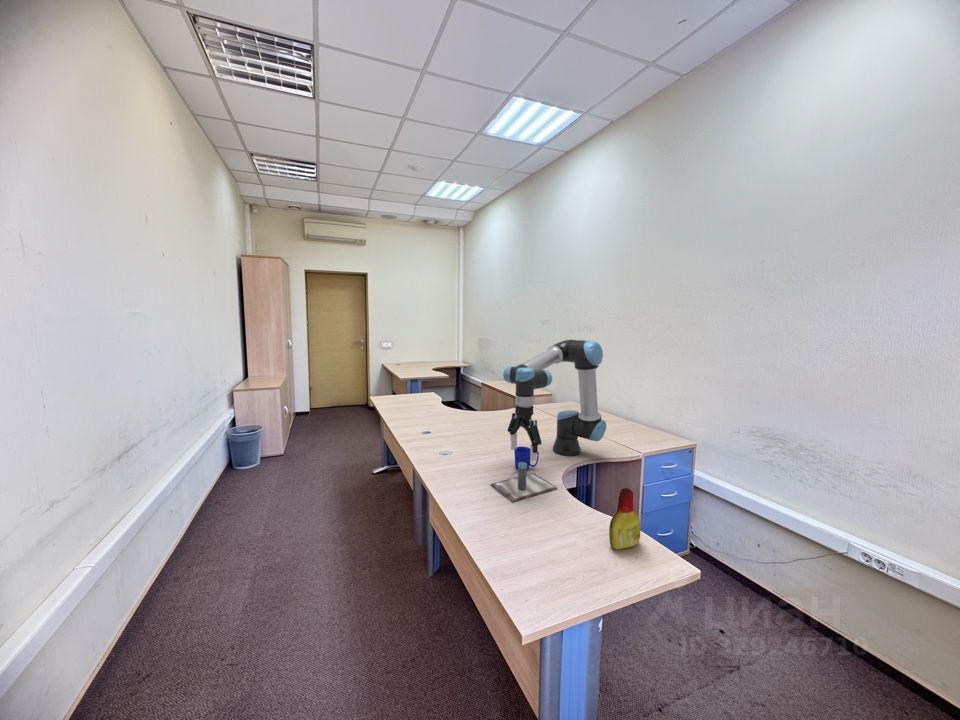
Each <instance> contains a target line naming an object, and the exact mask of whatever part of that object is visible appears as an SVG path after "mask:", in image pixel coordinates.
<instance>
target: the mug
mask: <svg viewBox="0 0 960 720" xmlns="http://www.w3.org/2000/svg"><path fill="white" fill-rule="evenodd" d="M513 451H514V467H515V469H516V470H518V463H519V462H525V463H527V470H529V469H530V467H531V468H534V467H536V466H537V465H538V462H539V457H540V456H539V455H540V453H539V451H538V452H537V459H536V461H535V464H531V460H530V451H531V447H527V446H517V449H513Z"/></svg>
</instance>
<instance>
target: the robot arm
mask: <svg viewBox="0 0 960 720" xmlns="http://www.w3.org/2000/svg"><path fill="white" fill-rule="evenodd" d="M603 356H604V354H603V347H602V346H601V345H600V343H599V342H597V341H593V340H581V339H566V340H562V341H560V342H559V341H558V342H557V343H554V344H552V345H550V346H549V347H548V348H547V350H545V351H543V352H542V353H540V354H538V355H536V356H533V357H532V358H531V359H528V360H526V361H524V362H522V363H520V364H518V365H516V366H511V365H510V366H507V367H505V369H504V370H503V374H502V375H503V380H504V381H505V382H507V383H510V384H512V385H513V384H514V385H515V402H514V403H515V407H514V408H515V409H514V412H513V413H511V419H510V422H509V423H508V427H507V432H508V433H509V434H510V451H511V450H513V451H514V449H517V447H518V444H517V443H518V430H519V429H520V428H523V429H524V430H525V431H526V433H527V435H528V438H529V440H530V442H531V444H530V449H531V451H530V462H532V461H535V460H536V461H537V452H539V451H538V450H539V447H538V446H540V445H542V439H541V435H540V432H539V428H538V420H537V419H533V418H532V416H533V414H534V405H535V404H534V403H535V401H534V400H535V399H534V397H535V396H534V394H535V392H534V391H535V390H537V389H542V388H546V387H548V386H550V385H551V384H552V382H553V374H552V373H551V372H550V371H549V370H547V369H548V368H549V367H550V366H552V365H554V364H561V363H563V362H567V363H574V368H575V369H576V370H577V374H578V376H577V377H578V390H579V403H580V411H579V410H572V409H567V410H560V411H559V412H558V413H557V417H556V437H555V440H554V443H553V446H552V451H553V452H554V453H555V454H557V455H560V456H565V457H573V456H575V457H576V456H578V455H580V454H581V447H580V442H579V438H582V439H585V440H589V441H591V442H599V441H601V440H602V439H603V438H604V436H605V433H606V430H607V422H606V420H603V419H602V414H601V413H600V412H599V410H598V409H599V405H598V392H597V391H598V387H597V372H596V371H597V369H598V368H599V365H601V364H602V361H603Z"/></svg>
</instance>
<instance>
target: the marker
mask: <svg viewBox="0 0 960 720" xmlns="http://www.w3.org/2000/svg"><path fill="white" fill-rule="evenodd" d="M517 470H518V471H517V477H518V492H519V493H526V475H527V474H528V473H527V463H525V462H519V463H518V469H517Z"/></svg>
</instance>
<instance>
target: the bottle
mask: <svg viewBox="0 0 960 720" xmlns="http://www.w3.org/2000/svg"><path fill="white" fill-rule="evenodd" d="M608 531H609V544H610V546H611V548H612V549H614V550H622V549H628V548H629V549H630V548H632V547H635V546H636V545H638V544H640V538H641V520H640V517H639V515H638V514H637V512H636V510H635V509H634V492H633V491H632V490H631V489H630V488H628V487H624V488H622V489H621V490H620V492H619V496H618V503H617V509H616V512H615V513H614V515H613V516H612V518H611V520H610V522H609V530H608Z"/></svg>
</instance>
